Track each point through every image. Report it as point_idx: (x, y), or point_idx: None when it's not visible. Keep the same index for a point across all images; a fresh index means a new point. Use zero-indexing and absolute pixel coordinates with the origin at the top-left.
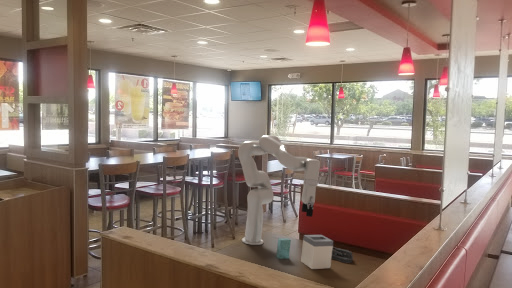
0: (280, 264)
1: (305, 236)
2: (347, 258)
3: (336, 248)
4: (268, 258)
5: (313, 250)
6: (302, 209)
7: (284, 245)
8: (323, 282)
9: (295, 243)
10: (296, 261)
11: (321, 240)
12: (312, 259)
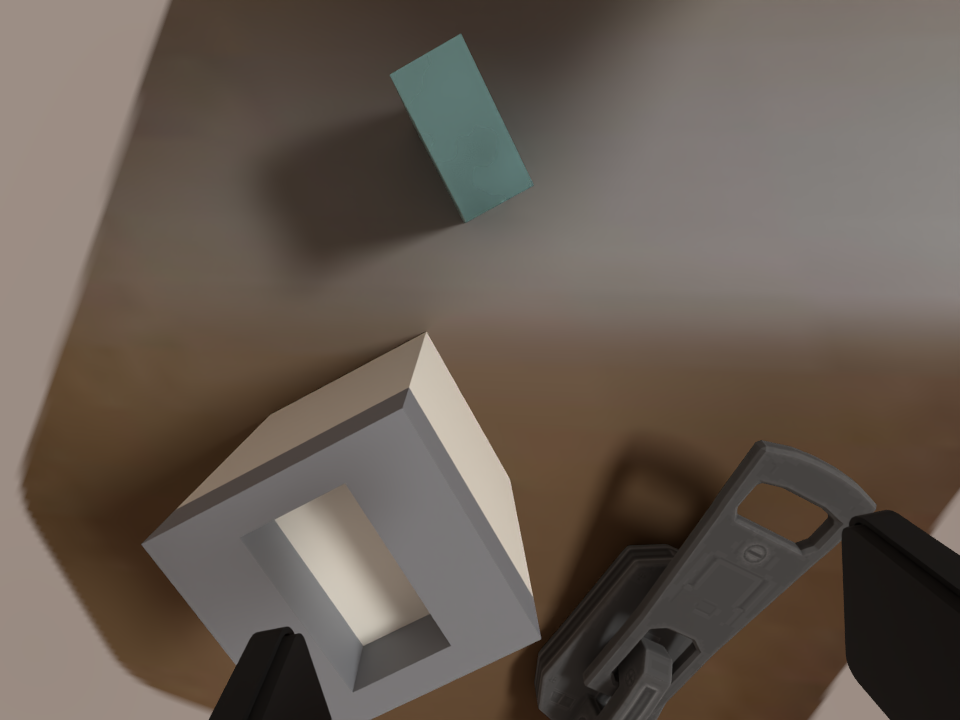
0: (263, 142)
1: (357, 430)
2: (550, 703)
3: (691, 663)
4: (382, 12)
5: (205, 482)
6: (897, 567)
7: (427, 149)
8: (26, 483)
9: (938, 295)
10: (408, 293)
11: (253, 625)
12: (246, 442)
